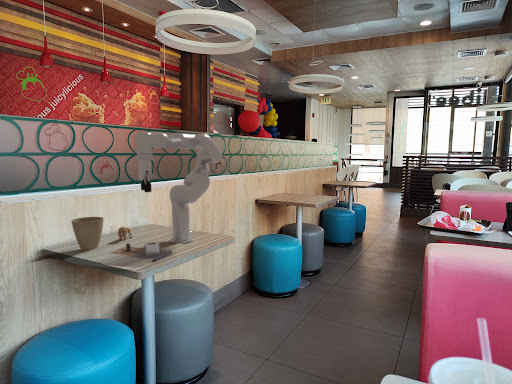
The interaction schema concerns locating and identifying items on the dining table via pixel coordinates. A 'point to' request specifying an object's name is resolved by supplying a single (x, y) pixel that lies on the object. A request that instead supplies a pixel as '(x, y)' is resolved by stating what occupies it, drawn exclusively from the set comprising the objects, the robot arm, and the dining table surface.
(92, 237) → the plant pot
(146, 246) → the white hollow box
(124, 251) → the stand
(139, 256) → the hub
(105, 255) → the dining table surface
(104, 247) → the dining table surface
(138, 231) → the dining table surface
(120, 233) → the lion figurine
